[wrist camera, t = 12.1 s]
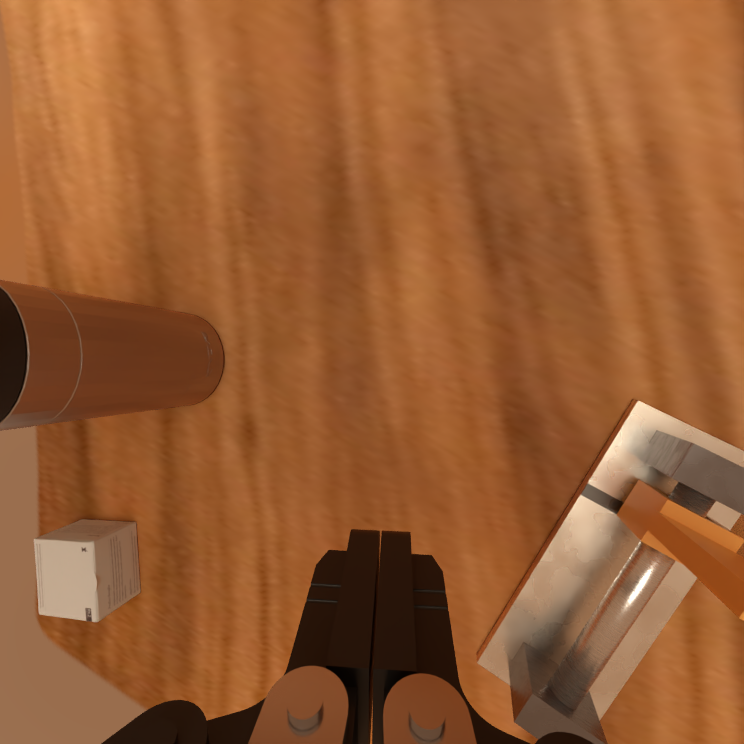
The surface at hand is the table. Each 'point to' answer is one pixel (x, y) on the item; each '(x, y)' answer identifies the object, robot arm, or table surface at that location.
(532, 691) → the pipe stand
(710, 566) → the orange wooden plank
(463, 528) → the table surface
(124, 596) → the small box
